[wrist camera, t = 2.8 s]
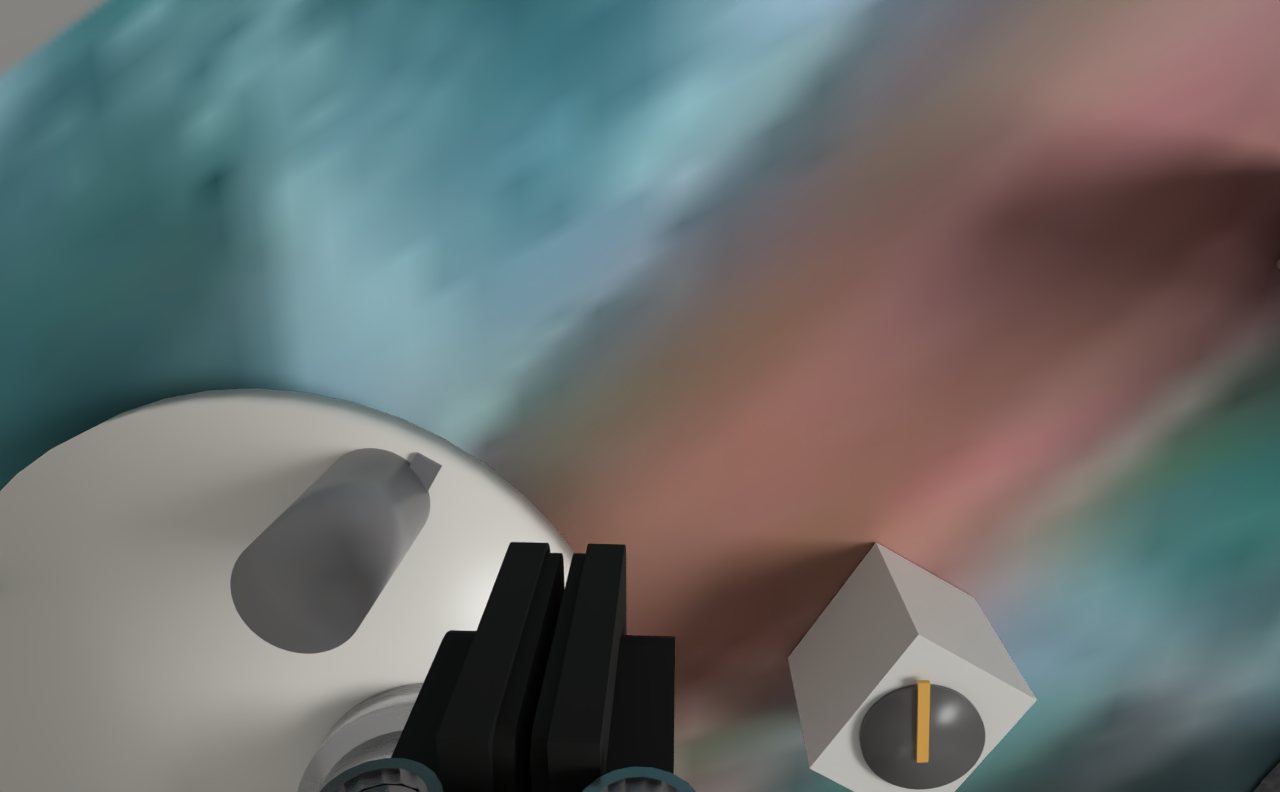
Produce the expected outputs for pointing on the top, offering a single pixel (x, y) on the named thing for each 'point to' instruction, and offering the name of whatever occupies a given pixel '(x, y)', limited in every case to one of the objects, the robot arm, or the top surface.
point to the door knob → (361, 736)
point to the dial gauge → (903, 682)
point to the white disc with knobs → (232, 586)
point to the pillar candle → (1270, 781)
